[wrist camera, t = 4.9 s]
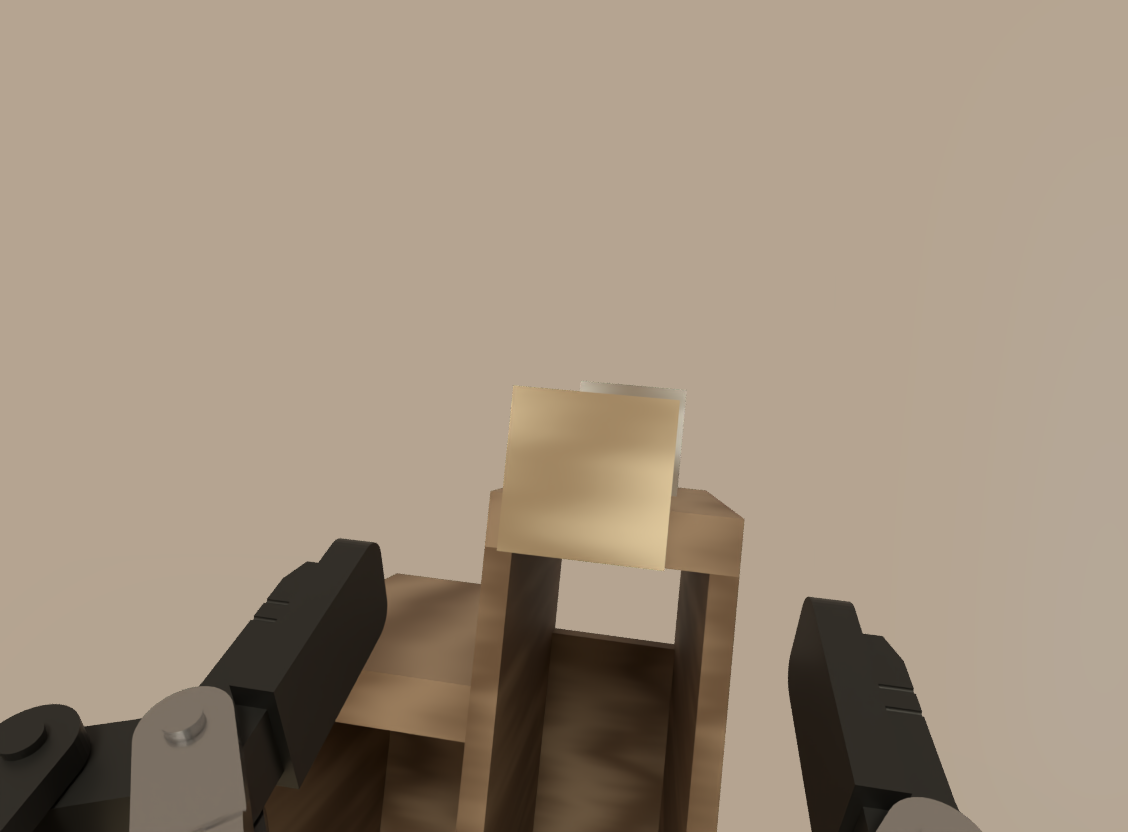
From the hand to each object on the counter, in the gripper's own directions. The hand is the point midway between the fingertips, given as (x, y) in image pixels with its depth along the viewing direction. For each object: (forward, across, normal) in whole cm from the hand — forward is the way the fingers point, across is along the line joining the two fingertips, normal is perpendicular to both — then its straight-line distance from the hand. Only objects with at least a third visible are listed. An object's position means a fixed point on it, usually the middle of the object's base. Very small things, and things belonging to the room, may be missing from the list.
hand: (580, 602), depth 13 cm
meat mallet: (+11, 0, +6) cm, 13 cm away
